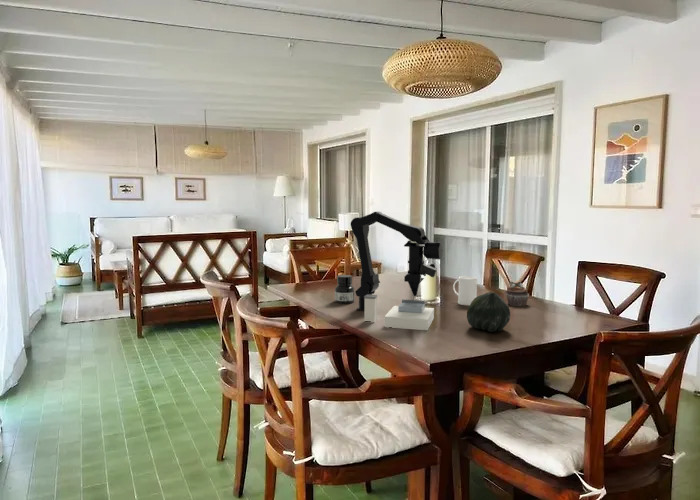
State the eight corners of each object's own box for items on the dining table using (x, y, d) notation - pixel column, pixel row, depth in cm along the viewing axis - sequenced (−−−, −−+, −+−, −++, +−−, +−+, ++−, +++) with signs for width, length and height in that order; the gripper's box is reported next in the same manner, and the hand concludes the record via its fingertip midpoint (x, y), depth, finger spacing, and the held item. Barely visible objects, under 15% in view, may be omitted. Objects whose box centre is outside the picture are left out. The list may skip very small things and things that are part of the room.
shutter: (402, 306, 200) (402, 299, 199) (424, 308, 197) (424, 300, 197) (398, 311, 192) (398, 303, 191) (421, 312, 189) (421, 305, 189)
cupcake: (510, 306, 219) (511, 284, 218) (503, 302, 228) (503, 280, 227) (532, 306, 219) (532, 284, 218) (523, 301, 229) (524, 280, 227)
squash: (471, 307, 192) (469, 283, 182) (511, 312, 187) (512, 287, 176) (465, 338, 184) (463, 314, 173) (507, 344, 178) (508, 320, 168)
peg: (366, 319, 196) (366, 294, 195) (377, 320, 195) (377, 294, 194) (364, 321, 192) (364, 296, 191) (374, 322, 191) (374, 297, 190)
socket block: (394, 315, 202) (394, 305, 202) (433, 318, 198) (434, 308, 197) (384, 327, 184) (384, 316, 184) (427, 330, 180) (427, 319, 179)
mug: (448, 302, 228) (448, 276, 227) (459, 299, 233) (460, 274, 232) (469, 306, 219) (469, 279, 218) (480, 303, 224) (481, 277, 223)
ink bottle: (332, 303, 225) (332, 277, 224) (336, 299, 234) (336, 274, 232) (353, 304, 223) (353, 277, 222) (356, 300, 232) (356, 274, 231)
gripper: (433, 261, 190) (432, 301, 192) (438, 256, 208) (437, 292, 210) (404, 260, 193) (403, 299, 195) (412, 255, 211) (411, 291, 213)
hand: (415, 295), depth 203 cm, fingers closed
